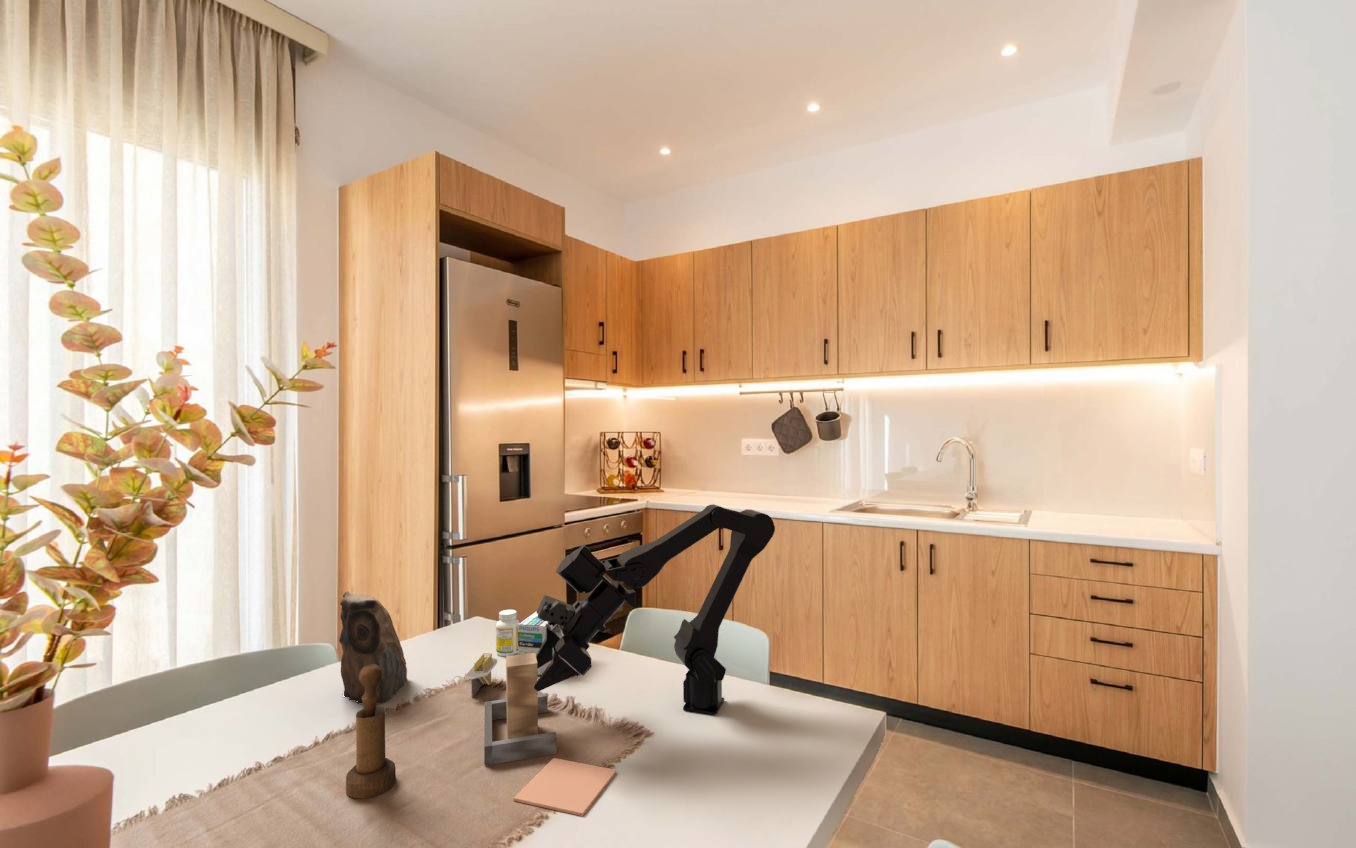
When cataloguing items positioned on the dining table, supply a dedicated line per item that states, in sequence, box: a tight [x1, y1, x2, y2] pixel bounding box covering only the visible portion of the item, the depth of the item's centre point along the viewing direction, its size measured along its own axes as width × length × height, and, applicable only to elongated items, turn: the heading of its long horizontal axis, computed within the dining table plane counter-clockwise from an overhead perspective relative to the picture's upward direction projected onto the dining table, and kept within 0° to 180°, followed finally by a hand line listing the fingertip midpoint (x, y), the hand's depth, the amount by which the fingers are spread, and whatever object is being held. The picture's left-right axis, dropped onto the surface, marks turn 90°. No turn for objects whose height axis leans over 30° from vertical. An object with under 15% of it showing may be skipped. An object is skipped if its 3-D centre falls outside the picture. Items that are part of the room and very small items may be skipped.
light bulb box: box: [517, 610, 552, 676], centre depth 136 cm, size 11×7×11 cm, turn 169°
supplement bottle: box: [495, 609, 520, 657], centre depth 144 cm, size 5×5×10 cm
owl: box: [338, 591, 408, 705], centre depth 123 cm, size 13×13×20 cm
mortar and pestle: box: [345, 664, 397, 800], centre depth 91 cm, size 7×6×18 cm
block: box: [505, 653, 539, 740], centre depth 105 cm, size 5×5×13 cm
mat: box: [513, 757, 617, 817], centre depth 90 cm, size 11×11×1 cm
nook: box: [483, 693, 557, 767], centre depth 105 cm, size 11×16×3 cm
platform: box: [464, 652, 498, 698], centre depth 124 cm, size 12×18×7 cm, turn 179°
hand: (533, 678), depth 106 cm, fingers open, 9 cm apart
